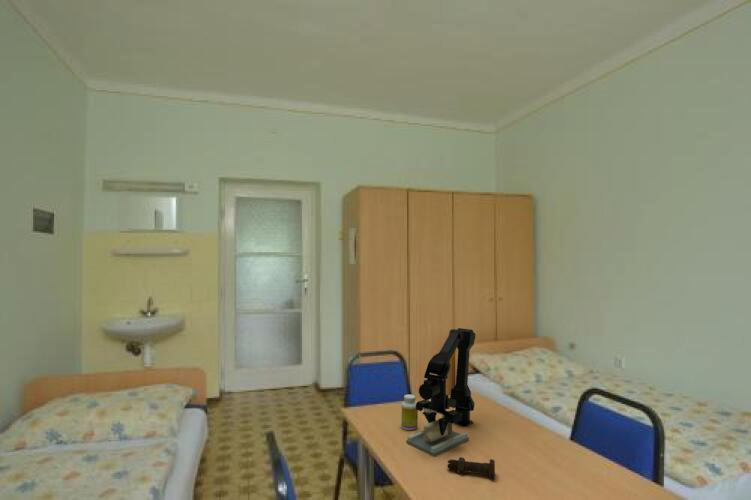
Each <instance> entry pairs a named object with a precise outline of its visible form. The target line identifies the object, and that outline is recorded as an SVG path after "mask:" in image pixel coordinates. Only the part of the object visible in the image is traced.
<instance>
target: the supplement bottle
mask: <svg viewBox="0 0 751 500" xmlns="http://www.w3.org/2000/svg"><path fill="white" fill-rule="evenodd" d="M403 400H404V401H402V402H401V415H400V416H401V417H400V418H401V420H400V421H401V425H400V427H401V429H403V430H406V431H414V430H416V429H417V428H418V426H419V425H418V412H419V410H416V403H417V401H416V396H415V395H414V394H405V395H404V396H403Z"/></svg>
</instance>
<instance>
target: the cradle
mask: <svg viewBox="0 0 751 500" xmlns="http://www.w3.org/2000/svg"><path fill="white" fill-rule="evenodd" d="M469 440H470V437H469V433H468V432H465V431H464V432H462V433H458V432H455V431H453V430H452V434H449V435H447V436H444V437H442V438H440V439H438V440H436V441H433V442H430V441H427V440H425V439H423V430H421V431H418V432H415V433H413V434H411V435H408V436H407V439H406V441H405V442H406V444H408V445H409V446H412V447H415V448H416V449H418V450H420V451H422V452H424V453H425V454H428V455H430V456H432V457H437V456H440V455H441V454H443V453H445V452H447V451H450V450H451V449H453V448H456V447H458V446H460V445H462V444H464V443H466V442H468V441H469Z"/></svg>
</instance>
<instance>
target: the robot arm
mask: <svg viewBox="0 0 751 500" xmlns="http://www.w3.org/2000/svg"><path fill="white" fill-rule="evenodd" d="M475 339H476V333H475V332H474V330H473V329H472V328H471V329H470V328H461V327H458V328H457V329H454V328H452V329H450V330H449V333H448V336H447V338H446V340H445V341H444V343H443V344H442V347H441V349H440V350H439V352H438V353H436V354H434V355H433V356H432V357H431V359H429V361H428V363H427V367H426V370H425V372H424V374H423V375H424V376H423V379H424V380H423V383H422V384H420V385H419V388H418V394H419V397H420V398H422V399H420V400H418V401H416V410H418V412H422V411H423V412H422V415H423V416H424V418H425V419H426V422H428V423H431V422H433V421H436V418H437V415H438V414H439V415H441V417H440V418H438V419H439V427H440V433H441V435H444V432H445V430H446V427H447V425H448V423H452V424H457V425H459V426H462V427H465V426H468V425H471V424H473V423H474V421H473V420H471V411H473V412H474V411H475V410H474V409H475V406H476V405H475V402H474V400H473V398H472V391H471V389H470V387H469V385H468V383H469V381H468V380H469V366H470V365H469V364H470V351H471V349H472V348H473V346H474V345H475ZM456 349H457V358H456V359H457V361H456V363H457V364H456V375H455V376H456V378H455V379H456V380H455V385H454V386H453V387H452V388H451V390H450V395H449V394H447V379H449V376H448V375H449V372H450V371H451V370H450V369H451V359H452V357H453V355H454V353H455V351H456ZM450 408H452V409H451V410H449V409H450ZM428 423H427V424H428Z"/></svg>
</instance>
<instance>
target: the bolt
mask: <svg viewBox="0 0 751 500" xmlns="http://www.w3.org/2000/svg"><path fill="white" fill-rule="evenodd" d="M447 463H448V464H447V466H446V467H447V469H448V470H452V471H457V472H458V474H460V475H464V474H465V473H466V472H467V473H477V474H482V475H486V476H489V480H495V477H496V469H495V468H496V462H495V460H494V459H492V458H489V462H476V461H467V460H466V459H465V458H464V457H461V456H460V457H459V458H458V459H451V458H450V459H449V460H447Z"/></svg>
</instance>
